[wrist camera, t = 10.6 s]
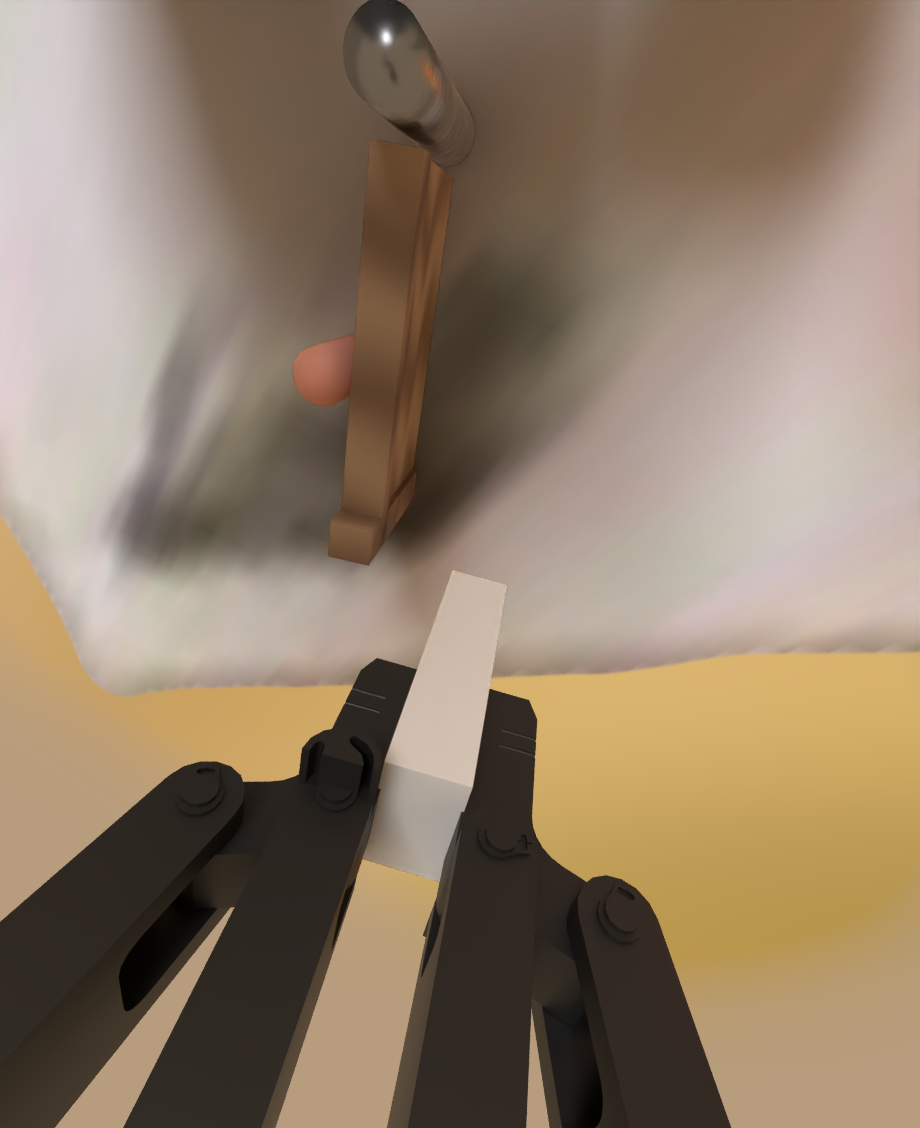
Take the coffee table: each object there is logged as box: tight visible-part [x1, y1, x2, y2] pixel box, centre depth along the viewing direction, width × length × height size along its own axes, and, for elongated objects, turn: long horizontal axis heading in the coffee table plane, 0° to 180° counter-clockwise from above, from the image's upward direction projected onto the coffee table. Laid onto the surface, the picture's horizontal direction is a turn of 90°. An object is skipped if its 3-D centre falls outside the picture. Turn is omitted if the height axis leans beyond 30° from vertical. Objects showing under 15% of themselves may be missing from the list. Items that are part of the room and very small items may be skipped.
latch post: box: [293, 334, 355, 406], centre depth 32 cm, size 3×3×7 cm
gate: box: [328, 139, 453, 566], centre depth 29 cm, size 18×2×10 cm, turn 170°
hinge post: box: [343, 0, 475, 166], centre depth 24 cm, size 3×3×12 cm
